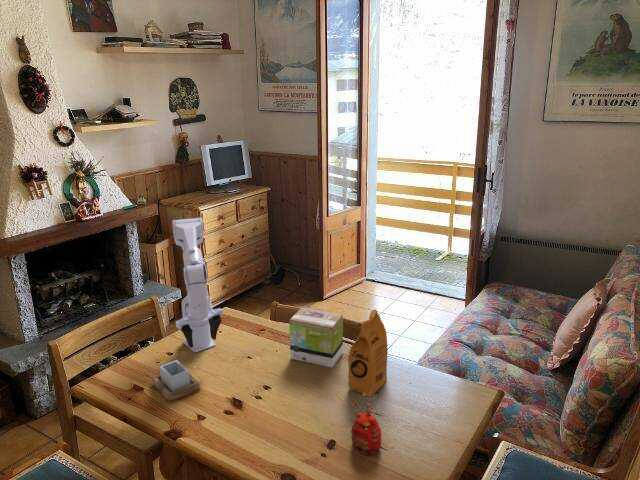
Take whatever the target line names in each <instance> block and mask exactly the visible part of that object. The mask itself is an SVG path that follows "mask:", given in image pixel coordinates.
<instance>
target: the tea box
mask: <svg viewBox="0 0 640 480" xmlns="http://www.w3.org/2000/svg"><path fill="white" fill-rule="evenodd" d="M343 321H344V314H342V313H336V312H331V311H324V310H319V309H312V308H307V307H300V308H299V309H298V310H297V311H296V313H295V314H293V316H292V317H291V318H290V319H288V322H289V350H290V351H289V352H290V353H289V354H290V360H295V361H299V362H300V361H301V362H303V363H309V364H310V363H311V364H314V365H318V366H323V367H326V368H331V369H332V368H333V367H334V366H335V365H336V363H337V362H338V360H340V358H341V356H342V354H343V352H344V351H343V350H344V349H343V347H344V344H343V343H344V341H343V340H344V332H343V331H344V322H343Z"/></svg>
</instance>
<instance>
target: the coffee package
mask: <svg viewBox="0 0 640 480" xmlns="http://www.w3.org/2000/svg"><path fill="white" fill-rule="evenodd" d="M368 318H369V319H366V320H364V321H361V322H359V323H357V324H356V326H357V327H359V328H360V332H359V333H358V336H357V339H356V340H355V341H354V342H353V344H352V345H351V347H350V349H349V352H348V356H347V363H348V375H347V377H348V379H347V385H348V388H349V389H350V390H351V391H356V392H358V393H361V394H362V393H363V392H365V394H366V395H368V393H370V389H371V397H372V396H374V395H375V394H376V392H377V390H378V389H380V388H382V387H383V386H384V385H385V383H386V381H387V379H388V378H387V377H388V376H387V375H388V371H387V370H388V369H387V368H388V353H389V352H388V351H389V350H388V336H387V329H386V327H385V324H384V323H383V321H382V319H381V316H380V314H379V313H378V311H377V309H375V308H374V309H372V310H371V311H370V313H369V317H368Z"/></svg>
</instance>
